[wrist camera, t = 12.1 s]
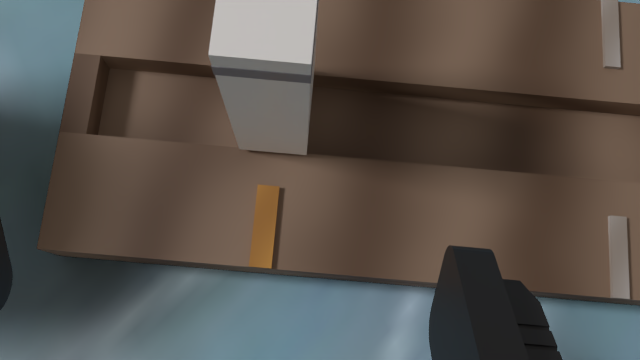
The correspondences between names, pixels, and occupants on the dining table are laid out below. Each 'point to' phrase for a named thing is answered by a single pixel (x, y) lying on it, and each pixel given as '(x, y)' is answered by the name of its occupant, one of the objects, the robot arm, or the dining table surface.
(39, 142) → the dining table surface
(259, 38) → the fader tab
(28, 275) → the dining table surface
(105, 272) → the dining table surface
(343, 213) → the fader console
